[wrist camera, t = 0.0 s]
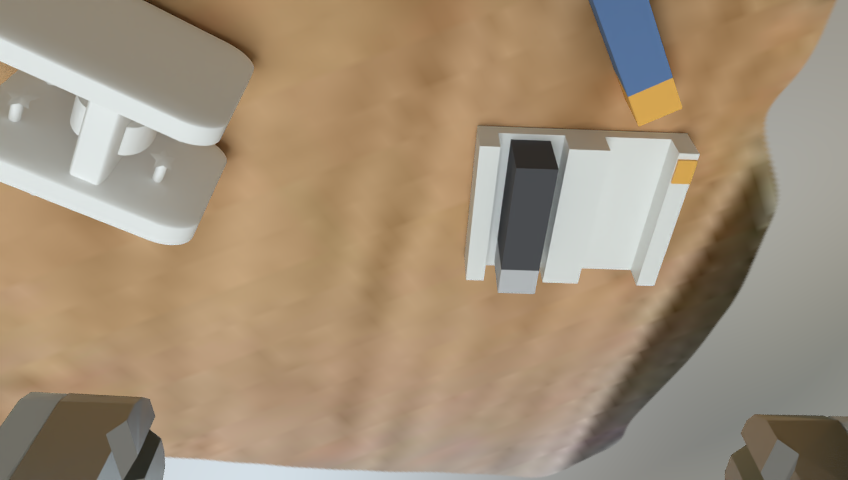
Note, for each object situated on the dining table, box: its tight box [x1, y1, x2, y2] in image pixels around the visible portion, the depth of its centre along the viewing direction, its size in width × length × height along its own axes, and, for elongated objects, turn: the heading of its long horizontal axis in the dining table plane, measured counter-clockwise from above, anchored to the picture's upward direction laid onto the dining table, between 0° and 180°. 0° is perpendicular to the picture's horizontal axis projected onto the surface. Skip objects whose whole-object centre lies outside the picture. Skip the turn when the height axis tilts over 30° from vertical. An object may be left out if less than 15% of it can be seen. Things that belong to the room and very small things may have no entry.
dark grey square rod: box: [494, 139, 559, 294], centre depth 51 cm, size 12×3×4 cm, turn 178°
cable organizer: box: [0, 0, 254, 245], centre depth 43 cm, size 15×11×12 cm
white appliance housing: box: [465, 126, 700, 286], centre depth 53 cm, size 13×16×3 cm
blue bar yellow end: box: [589, 0, 682, 126], centre depth 43 cm, size 12×3×4 cm, turn 28°
